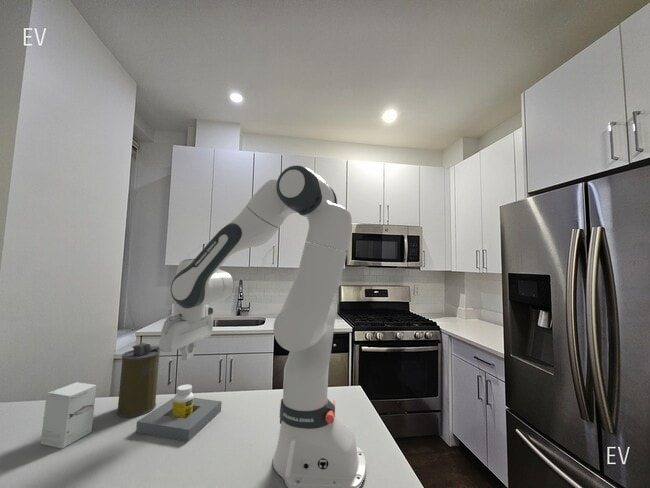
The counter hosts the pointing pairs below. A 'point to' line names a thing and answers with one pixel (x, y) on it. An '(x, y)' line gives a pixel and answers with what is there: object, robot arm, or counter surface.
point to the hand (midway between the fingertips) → (187, 358)
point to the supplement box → (68, 414)
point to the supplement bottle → (183, 402)
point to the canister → (138, 381)
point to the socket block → (178, 420)
